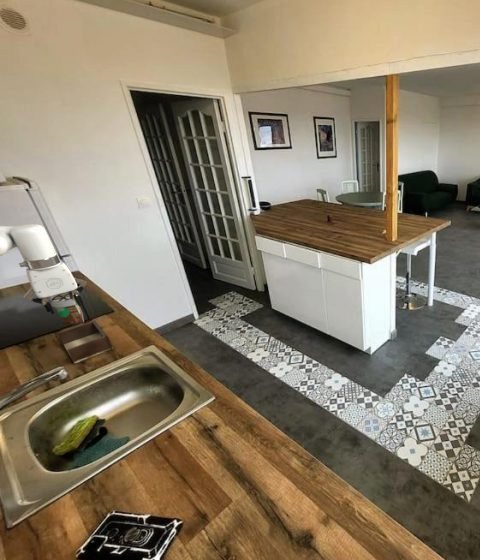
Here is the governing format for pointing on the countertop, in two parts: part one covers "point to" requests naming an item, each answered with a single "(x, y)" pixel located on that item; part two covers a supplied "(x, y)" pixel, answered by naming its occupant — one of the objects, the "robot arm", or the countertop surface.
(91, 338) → the open brown box
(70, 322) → the food container
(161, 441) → the countertop surface
